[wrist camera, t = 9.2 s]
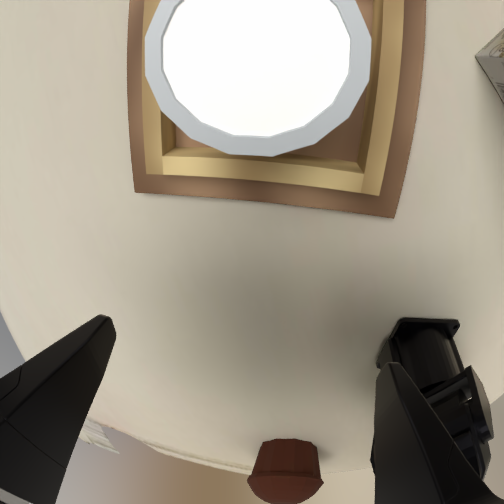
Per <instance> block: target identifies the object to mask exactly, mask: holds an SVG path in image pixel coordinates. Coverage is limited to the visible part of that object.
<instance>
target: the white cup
mask: <svg viewBox="0 0 504 504" xmlns="http://www.w3.org/2000/svg"><path fill="white" fill-rule="evenodd" d="M371 40H372V39H371V36H370V34H369V31H368V29H367V26H366V24H365V22H364V19H363V17H362V14H361V12H360V10H359V8H358V5H357V3H356V1H355V0H161V1H160V3H159V5H158V7H157V10H156V12H155V14H154V16H153V19H152V21H151V23H150V26H149V28H148V31H147V33H146V36H145V76H146V78H147V81H148V83H149V85H150V87H151V89H152V92H153V94H154V96H155V98H156V101H157V103H158V105H159V107H160V109H161V111H162V112H163V113H164V114H165V115H166V116H167V117H168V118H169V119H171V120H172V121H173V122H174V123H175V124H176V125H177V126H178V127H179V128H180V129H181V130H182V131H183V132H184V133H185V134H186V135H187V136H189V137H190V138H191V139H194V140H196V141H199V142H201V143H203V144H206V145H208V146H211V147H213V148H215V149H218V150H220V151H223V152H225V153H227V154H234V155H255V156H271V157H273V156H276V155H279V154H282V153H286V152H289V151H292V150H296V149H299V148H302V147H306V146H309V145H313V144H315V143H316V142H318V141H319V140H320V139H322V138H323V137H324V136H325V135H327V134H328V133H329V132H331V131H332V130H333V129H334V128H336V127H337V126H338V125H340V124H341V123H342V122H344V121H345V120H346V119H348V118H349V116H350V114H351V113H352V111H353V109H354V107H355V105H356V104H357V102H358V100H359V98H360V96H361V95H362V93H363V91H364V89H365V87H366V86H367V84H368V82H369V76H370V61H371Z"/></svg>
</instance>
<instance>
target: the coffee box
mask: <svg viewBox="0 0 504 504" xmlns="http://www.w3.org/2000/svg"><path fill="white" fill-rule="evenodd" d="M476 59H477V60H478V62H479V63H480V65H481V66H482V68H483V69H484V71H485V72H486V74H487V75H488V77H489V79H490V80H491V82H492V84H493V85H494V87H495V89H496V90H497V92H498V94H499V96H500V97H501V99H502V101H503V103H504V29H503V30H502V31H501V32H500V33H499V34H497V35H496V36H495V37H494V38H493V39H492V40H491V41H490V42H489V43H488V44H487V45H486V46H485V47H484V48H483V49H482V50H481V51H480V52H479V53H478V54H477V55H476Z"/></svg>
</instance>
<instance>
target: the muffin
mask: <svg viewBox="0 0 504 504" xmlns="http://www.w3.org/2000/svg"><path fill="white" fill-rule="evenodd" d="M247 482H248V484H249V486H250V487H251V489H252V491H253V492H254V494H255V495H256V496H258V497H259V498H260V499H262V500H264V501H265V502H268V503H271V504H297V503H301V502H303V501H305V500H307V499H309V498H310V497H311V496H313V495H314V494H315V493H316V492H317V491H318V490H319V488H320V487H321V486H322V484H323V483H324V482H323V481H322V479H321V475H320V467H319V460H318V453H317V447H316V446H314V445H313V444H312V443H311V442H308V441H302V440H298V439H274V440H271V441H266V442H263V444H262V446H261V447H260V450H259V453H258V456H257V459H256V462H255V465H254V468H253V471H252V474H251V475H250V476H249V478H248V479H247Z"/></svg>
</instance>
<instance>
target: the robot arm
mask: <svg viewBox="0 0 504 504" xmlns="http://www.w3.org/2000/svg"><path fill="white" fill-rule="evenodd" d="M459 327H460V323H459V321H458V320H441V319H417V318H402V319H400V320H399V321H398V323H397V325H396V327H395V329H394V331H393V333H392V334H391V336H390V338H389V339H388V340H387V342H386V344H385V346H384V348H383V350H382V351H381V353H380V355H379V359H378V360H377V362H376V366H377V368H379V369H381V372H380V373H379V375H378V377H377V380H376V396H375V415H374V438H373V444H372V451H371V458H370V461H371V463H372V467H373V472H374V474H375V504H504V500H503V499H501V498H499V497H497V496H496V495H495V494H494V493H492V491H491V490H490V489H489V488H488V487H487V485H486V484H485V483H484V482H483V480H484V478H485V475H486V472H487V469H488V466H489V462H490V459H491V454H490V449H489V444H488V441H489V440H491V439H493V438H494V434H493V425H492V418H491V411H490V404H489V401H488V398H487V395H486V392H485V390H484V387H483V384H482V382H481V381H480V379H479V377H478V376H477V374H476V373H475V371H474V370H473V368H472V366H471V365H470V366H468V367H467V368H465V369H464V367H463V364H462V361H461V358H460V355H459V353H458V350H457V347H456V345H455V342H454V340H453V336H454V335H455V333H456V332H457V330H458V329H459ZM115 341H116V331H115V328H114V325H113V322H112V319H111V318H110V317H109V316H105V315H98V316H96V317H94V318H93V319H91V320H90V321H88V322H86V323H85V324H83V325H82V326H80V327H79V328H77V329H75V330H74V331H72V332H71V333H69V334H68V335H66V336H65V337H63V338H62V339H60V340H58V341H57V342H55V343H54V344H52V345H51V346H49V347H48V348H46V349H45V350H43V351H42V352H40V353H39V354H37V355H36V356H34V357H33V358H31V359H30V360H28V361H27V362H25V363H24V364H23V365H20V366H19V367H18V368H16V369H14V370H13V371H11V372H10V373H8V374H7V375H5V376H4V377H2V378H0V504H28V503H29V502H30V503H33V504H55V503H56V499H57V496H58V493H59V490H60V487H61V484H62V481H63V478H64V475H65V472H66V468H67V466H68V463H69V460H70V457H71V455H72V452H73V449H74V447H75V444H76V441H77V439H78V436H79V434H80V431H81V429H82V426H83V424H84V421H85V419H86V416H87V414H88V411H89V409H90V407H91V404H92V402H93V399H94V397H95V395H96V392H97V390H98V388H99V386H100V383H101V381H102V379H103V376H104V373H105V371H106V367H107V364H108V361H109V358H110V355H111V352H112V349H113V346H114V343H115ZM471 397H472V398H471ZM469 398H471V399H469ZM468 399H469V400H468Z"/></svg>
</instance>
